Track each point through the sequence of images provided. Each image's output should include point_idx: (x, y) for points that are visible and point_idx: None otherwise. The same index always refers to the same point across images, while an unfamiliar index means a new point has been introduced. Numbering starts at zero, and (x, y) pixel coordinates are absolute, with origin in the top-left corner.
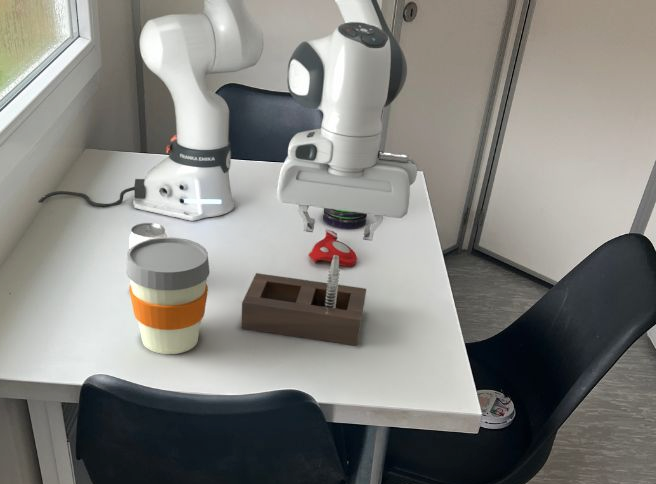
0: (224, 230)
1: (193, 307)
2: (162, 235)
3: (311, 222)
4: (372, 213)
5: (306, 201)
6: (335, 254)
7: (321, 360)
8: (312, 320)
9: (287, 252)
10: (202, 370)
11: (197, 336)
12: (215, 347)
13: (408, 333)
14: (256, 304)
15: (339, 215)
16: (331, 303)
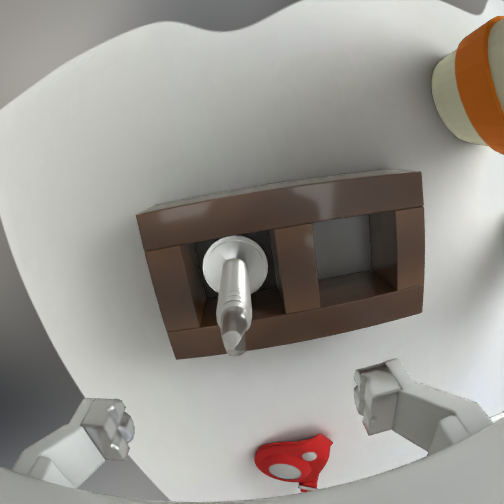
0: None
1: (478, 37)
2: None
3: (382, 396)
4: (26, 479)
5: (486, 452)
6: (288, 455)
7: (205, 119)
8: (253, 190)
9: (365, 437)
10: (389, 24)
11: (439, 91)
12: (403, 91)
13: (90, 294)
14: (393, 174)
15: None
16: (229, 269)
